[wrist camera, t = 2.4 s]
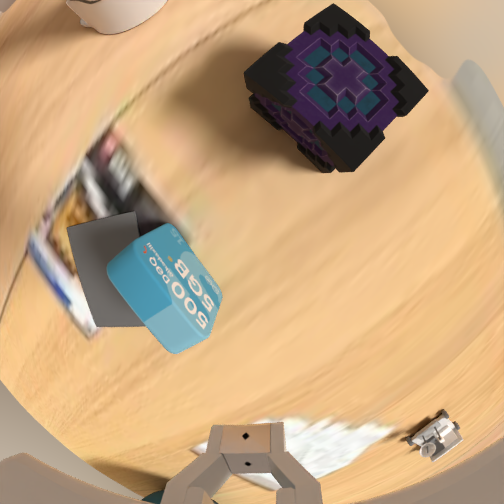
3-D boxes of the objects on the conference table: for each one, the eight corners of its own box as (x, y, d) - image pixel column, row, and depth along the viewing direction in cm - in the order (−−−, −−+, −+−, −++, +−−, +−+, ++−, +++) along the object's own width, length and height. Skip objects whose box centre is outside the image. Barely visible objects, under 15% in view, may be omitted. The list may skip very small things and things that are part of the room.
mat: (68, 227, 35) (66, 227, 34) (135, 211, 34) (134, 211, 33) (97, 325, 39) (96, 326, 39) (163, 324, 38) (163, 325, 38)
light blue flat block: (224, 293, 36) (208, 344, 25) (199, 308, 37) (175, 360, 26) (171, 220, 34) (128, 242, 22) (146, 239, 35) (100, 267, 23)
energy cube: (313, 50, 27) (333, 3, 16) (381, 113, 29) (428, 90, 17) (250, 107, 30) (243, 72, 18) (322, 173, 32) (353, 171, 20)
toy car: (412, 463, 36) (456, 432, 33) (400, 433, 45) (439, 404, 43) (434, 471, 39) (470, 445, 36) (424, 447, 48) (456, 422, 46)
